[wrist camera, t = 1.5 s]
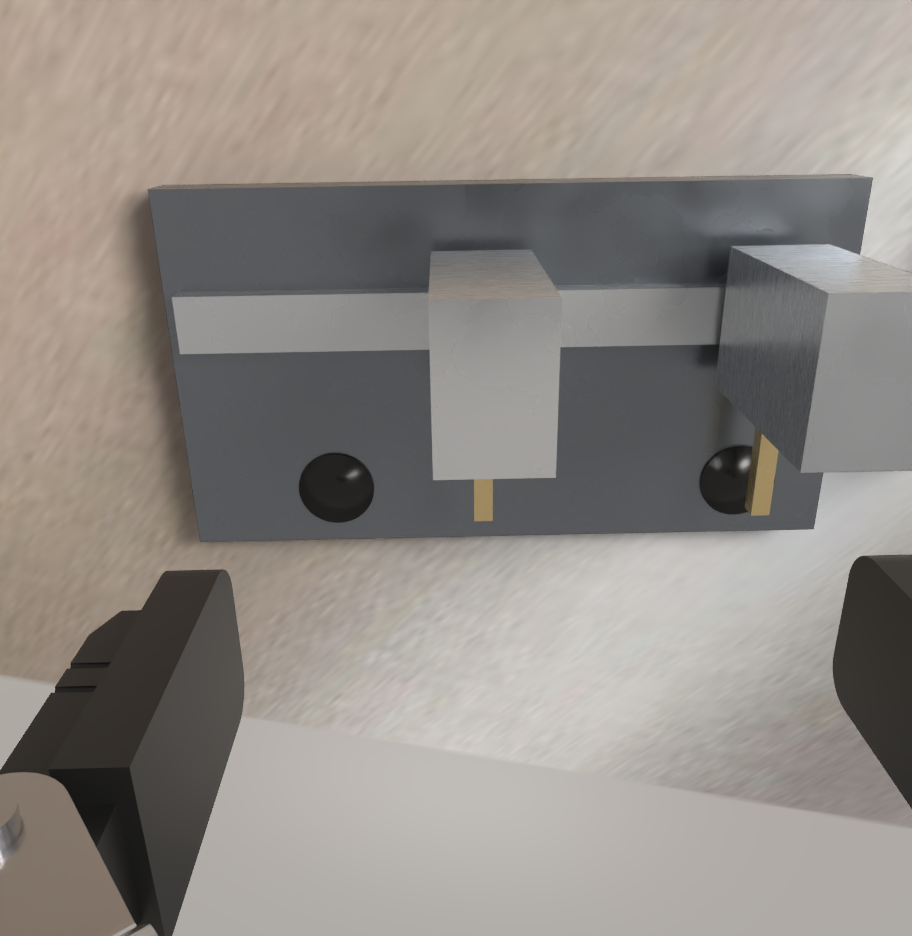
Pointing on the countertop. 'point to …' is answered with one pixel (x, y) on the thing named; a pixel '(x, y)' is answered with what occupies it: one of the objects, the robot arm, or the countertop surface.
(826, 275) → the fixed leg
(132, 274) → the countertop surface
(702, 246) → the hole plate
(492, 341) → the leg
